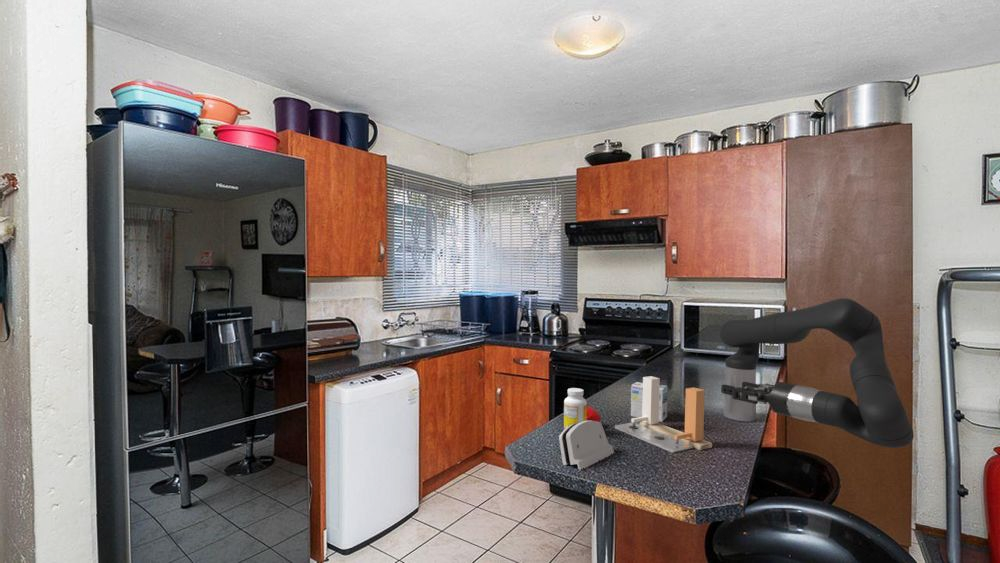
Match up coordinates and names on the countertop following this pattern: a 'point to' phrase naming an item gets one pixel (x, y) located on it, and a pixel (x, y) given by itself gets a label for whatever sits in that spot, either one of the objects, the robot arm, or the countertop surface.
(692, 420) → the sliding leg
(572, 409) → the supplement bottle
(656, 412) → the fixed leg
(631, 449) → the countertop surface
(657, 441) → the bolt plate
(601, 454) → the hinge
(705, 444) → the rail
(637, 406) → the light bulb box
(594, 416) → the cap
